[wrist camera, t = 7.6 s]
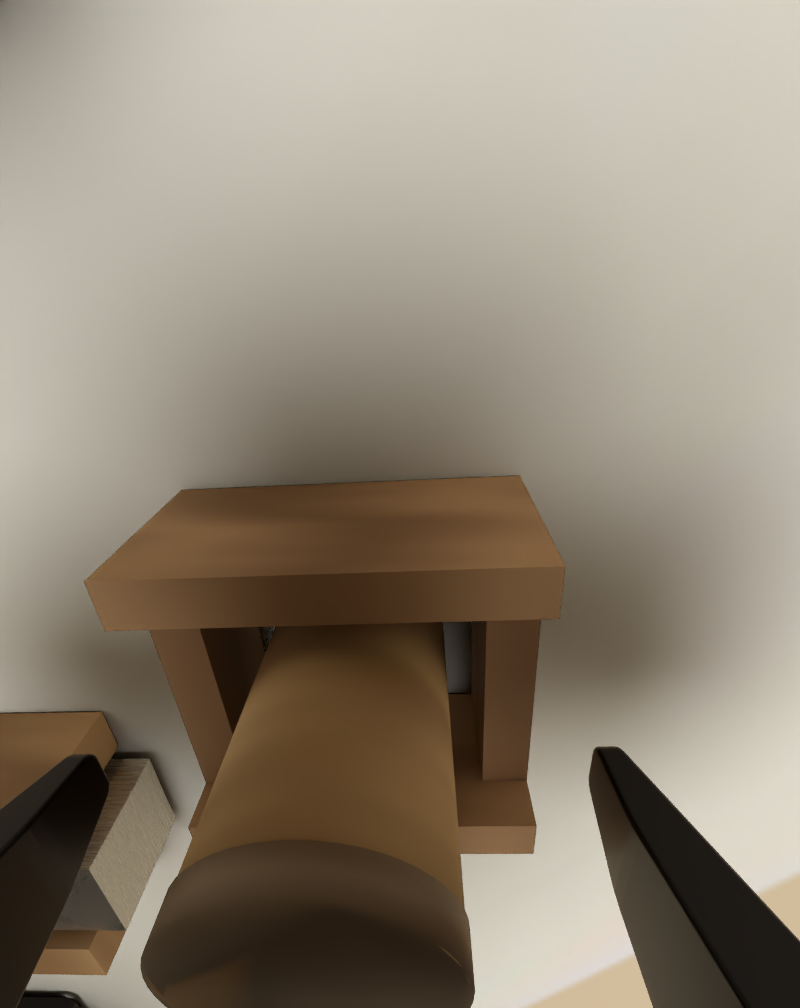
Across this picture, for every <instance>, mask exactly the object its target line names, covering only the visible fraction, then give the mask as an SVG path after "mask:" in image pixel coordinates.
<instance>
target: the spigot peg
mask: <svg viewBox="0 0 800 1008" xmlns="http://www.w3.org/2000/svg"><path fill="white" fill-rule="evenodd" d="M141 972H142V976H143V979H144V981H145V983H146V985H147V987H148V988H149V990H150V991H151V992H152V993H153V995H154V996H155V997H156V998H157V999H158V1000H159V1001H160V1002H161V1003H162V1004H164V1005H165V1006H166V1007H167V1008H470V1007H471V1005H472V1003H473V1000H474V994H475V986H474V974H473V962H472V950H471V938H470V927H469V919H468V917H467V914H466V912H465V909H464V896H463V883H462V870H461V857H460V844H459V831H458V817H457V804H456V791H455V778H454V765H453V752H452V739H451V726H450V713H449V699H448V686H447V673H446V660H445V647H444V634H443V622H424V623H387V624H349V625H312V626H276V627H275V629H274V632H273V634H272V637H271V639H270V642H269V644H268V647H267V650H266V652H265V655H264V657H263V660H262V662H261V665H260V667H259V670H258V672H257V675H256V678H255V680H254V683H253V685H252V688H251V690H250V693H249V695H248V698H247V701H246V703H245V706H244V708H243V711H242V713H241V716H240V718H239V721H238V723H237V726H236V729H235V731H234V734H233V736H232V739H231V741H230V744H229V746H228V749H227V752H226V754H225V757H224V759H223V762H222V764H221V767H220V769H219V772H218V774H217V777H216V780H215V782H214V785H213V787H212V790H211V792H210V795H209V797H208V800H207V802H206V805H205V808H204V810H203V813H202V815H201V818H200V820H199V823H198V825H197V828H196V831H195V833H194V836H193V838H192V841H191V843H190V846H189V848H188V851H187V853H186V856H185V859H184V861H183V864H182V866H181V869H180V871H179V874H178V876H177V877H176V878H175V880H174V881H173V882H172V884H171V885H170V887H169V888H168V891H167V894H166V896H165V899H164V901H163V904H162V906H161V909H160V911H159V914H158V916H157V919H156V921H155V924H154V926H153V929H152V931H151V934H150V936H149V939H148V941H147V944H146V946H145V949H144V951H143V954H142V957H141Z"/></svg>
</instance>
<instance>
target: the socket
mask: <svg viewBox="0 0 800 1008" xmlns="http://www.w3.org/2000/svg"><path fill="white" fill-rule="evenodd" d="M564 573H565V565H564V563H563V561H562V559H561V557H560V555H559V553H558V551H557V549H556V547H555V545H554V543H553V541H552V539H551V537H550V535H549V533H548V531H547V529H546V527H545V525H544V523H543V521H542V519H541V517H540V515H539V513H538V511H537V509H536V507H535V505H534V503H533V501H532V499H531V497H530V495H529V493H528V491H527V489H526V487H525V485H524V483H523V481H522V479H521V477H520V476H500V477H476V478H453V479H429V480H406V481H382V482H359V483H335V484H312V485H288V486H265V487H241V488H218V489H194V490H181V491H180V492H179V493H178V494H177V495H176V496H175V497H173V498H172V499H171V500H170V501H169V502H168V503H167V504H166V505H165V506H164V507H163V508H162V509H161V510H160V511H159V512H158V513H156V514H155V515H154V516H153V517H152V518H151V519H150V520H149V521H148V522H147V523H146V524H145V525H144V526H143V527H142V528H141V529H139V530H138V531H137V532H136V533H135V534H134V535H133V536H132V537H131V538H130V539H129V540H128V541H127V542H126V543H125V544H124V545H122V546H121V547H120V548H119V549H118V550H117V551H116V552H115V553H114V554H113V555H112V556H111V557H110V558H109V559H108V560H107V561H105V562H104V563H103V564H102V565H101V566H100V567H99V568H98V569H97V570H96V571H95V572H94V573H93V574H92V575H91V576H90V577H88V578H87V579H86V580H85V581H84V583H85V586H86V588H87V590H88V593H89V595H90V597H91V600H92V602H93V604H94V607H95V609H96V611H97V614H98V616H99V619H100V621H101V623H102V626H103V628H104V630H105V631H124V630H150V633H151V636H152V639H153V641H154V644H155V647H156V649H157V652H158V655H159V657H160V660H161V663H162V665H163V668H164V671H165V674H166V676H167V679H168V682H169V684H170V687H171V690H172V692H173V695H174V698H175V700H176V703H177V706H178V709H179V711H180V714H181V717H182V719H183V722H184V725H185V727H186V730H187V733H188V736H189V738H190V741H191V744H192V746H193V749H194V752H195V754H196V757H197V760H198V762H199V765H200V768H201V771H202V773H203V776H204V779H205V781H206V785H205V788H204V790H203V793H202V795H201V797H200V800H199V802H198V805H197V807H196V810H195V812H194V815H193V817H192V819H191V822H190V824H189V827H188V828H189V831H190V833H191V835H192V838H193V836H194V833H195V831H196V828H197V825H198V823H199V820H200V818H201V815H202V813H203V810H204V808H205V805H206V802H207V800H208V797H209V795H210V792H211V790H212V787H213V785H214V782H215V780H216V777H217V774H218V772H219V769H220V767H221V764H222V762H223V759H224V757H225V754H226V752H227V749H228V746H229V744H230V741H231V739H232V736H233V734H234V731H235V729H236V726H237V723H238V721H239V718H240V716H241V713H242V711H243V708H244V706H245V703H246V701H247V698H248V695H249V693H250V690H251V688H252V685H253V683H254V680H255V678H256V675H257V672H258V670H259V667H260V665H261V662H262V660H263V657H264V655H265V652H264V647H263V643H262V639H261V635H260V631H259V627H274V626H312V625H349V624H387V623H424V622H462V621H472V663H471V694H448V699H449V713H450V726H451V739H452V752H453V765H454V778H455V791H456V804H457V817H458V831H459V844H460V854H533V853H534V844H535V835H536V822H535V817H534V812H533V808H532V803H531V799H530V794H529V789H528V785H527V770H528V759H529V748H530V736H531V725H532V714H533V703H534V692H535V680H536V669H537V658H538V647H539V636H540V624H541V619H559V618H560V609H561V600H562V591H563V582H564Z"/></svg>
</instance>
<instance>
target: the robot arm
mask: <svg viewBox="0 0 800 1008" xmlns="http://www.w3.org/2000/svg"><path fill="white" fill-rule="evenodd" d="M589 787H590V793H591V797H592V801H593V805H594V809H595V814H596V818H597V822H598V826H599V830H600V835H601V839H602V843H603V847H604V851H605V856H606V860H607V864H608V868H609V872H610V876H611V880H612V884H613V888H614V892H615V895H616V898H617V902H618V905H619V908H620V911H621V914H622V917H623V920H624V923H625V926H626V929H627V932H628V935H629V938H630V941H631V944H632V947H633V949H634V952H635V955H636V958H637V961H638V964H639V967H640V970H641V973H642V976H643V979H644V982H645V985H646V988H647V990H648V994H649V996H650V1000H651V1002H652V1005H653V1008H800V941H799V939H798V938H797V937H796V936H795V935H794V934H793V933H792V932H791V931H790V930H789V929H788V928H787V927H786V926H785V924H784V923H783V922H782V921H781V920H780V919H779V918H778V917H777V916H776V915H775V914H774V913H773V911H772V910H771V909H770V908H769V907H768V906H767V905H766V904H765V903H764V902H763V901H762V900H761V899H760V897H759V896H758V895H757V894H756V893H755V892H754V891H753V890H752V889H751V888H750V887H749V886H748V885H747V883H746V882H745V881H744V880H743V879H742V878H741V877H740V876H739V875H738V874H737V873H736V872H735V871H734V869H733V868H732V867H731V866H730V865H729V864H728V863H727V862H726V861H725V860H724V859H723V858H722V857H721V855H720V854H719V853H718V852H717V851H716V850H715V849H714V848H713V847H712V846H711V845H710V844H709V843H708V841H707V840H706V839H705V838H704V837H703V836H702V835H701V834H700V833H699V832H698V831H697V830H696V829H695V827H694V826H693V825H692V824H691V823H690V822H689V821H688V820H687V819H686V818H685V817H684V816H683V815H682V813H681V812H680V811H679V810H678V809H677V808H676V807H675V806H674V805H673V804H672V803H671V802H670V801H669V799H668V798H667V797H666V796H665V795H664V794H663V793H662V792H661V791H660V790H659V789H658V788H657V787H656V785H655V784H654V783H653V782H652V781H651V780H650V779H649V778H648V777H647V776H646V775H645V774H644V773H643V771H642V770H641V769H640V768H639V767H638V766H637V765H636V764H635V763H634V762H633V761H632V760H631V759H630V757H629V756H628V755H627V754H626V753H625V752H624V751H623V750H622V749H620V748H618V747H615V746H608V747H596V748H595V749H594V751H593V756H592V761H591V767H590V773H589ZM108 793H109V780H108V778H107V776H106V774H105V772H104V770H103V768H102V766H101V764H100V762H99V760H98V758H97V757H96V756H95V755H93V754H72V755H69V756H68V757H66V758H64V759H63V760H62V761H61V762H59V763H58V764H57V765H55V766H54V767H53V768H52V769H50V770H49V771H48V772H47V773H45V774H44V775H43V776H41V777H40V778H39V779H38V780H36V781H35V782H34V783H33V784H31V785H30V786H29V787H28V788H26V789H25V790H24V791H22V792H21V793H20V794H19V795H17V796H16V797H15V798H14V799H12V800H11V801H10V802H9V803H7V804H6V805H5V806H3V807H2V808H1V809H0V1008H80V1007H79V1006H78V1005H77V1004H76V1002H74V1001H73V1000H71V999H68V998H60V997H22V995H23V993H24V991H25V989H26V987H27V985H28V982H29V980H30V978H31V976H32V974H33V972H34V970H35V968H36V966H37V963H38V961H39V959H40V957H41V955H42V953H43V951H44V949H45V947H46V945H47V942H48V940H49V938H50V936H51V934H52V932H53V930H54V928H55V926H56V923H57V921H58V919H59V917H60V915H61V913H62V911H63V909H64V906H65V904H66V902H67V900H68V898H69V895H70V893H71V891H72V888H73V886H74V884H75V881H76V879H77V876H78V874H79V871H80V868H81V866H82V863H83V860H84V858H85V855H86V853H87V850H88V847H89V845H90V842H91V839H92V837H93V834H94V831H95V829H96V826H97V823H98V821H99V818H100V815H101V813H102V810H103V807H104V805H105V802H106V800H107V797H108Z"/></svg>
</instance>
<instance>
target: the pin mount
mask: <svg viewBox="0 0 800 1008" xmlns="http://www.w3.org/2000/svg"><path fill="white" fill-rule="evenodd" d="M117 747H118V745H117V743H116V741H115V739H114V737H113V735H112V732H111V730H110V728H109V726H108V724H107V722H106V720H105V718H104V716H103V713H102V712H70V713H12V714H0V809H1V808H2V807H3V806H5V805H6V804H7V803H9V802H10V801H11V800H12V799H14V798H15V797H16V796H17V795H19V794H20V793H21V792H22V791H24V790H25V789H26V788H28V787H29V786H30V785H31V784H33V783H34V782H35V781H36V780H38V779H39V778H40V777H41V776H43V775H44V774H45V773H47V772H48V771H49V770H50V769H52V768H53V767H54V766H55V765H57V764H58V763H59V762H61V761H62V760H63V759H64V758H66V757H68V756H69V755H72V754H93V755H95V756H96V757H97V758H98V760H99V762H100V764H101V766H102V768H103V770H104V768H105V767H106V765H107V763H108V762H109V760H110V759H111V757H112V755H113V754H114V752H115V751H116V749H117ZM125 932H126V931H99V930H53V932H52V934H51V936H50V938H49V940H48V942H47V945H46V947H45V949H44V951H43V953H42V955H41V957H40V959H39V961H38V963H37V966H36V968H35V970H34V972H33V974H71V975H107V973H108V970H109V968H110V966H111V964H112V961H113V959H114V957H115V954H116V952H117V950H118V948H119V945H120V943H121V941H122V938H123V936H124V934H125Z"/></svg>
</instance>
